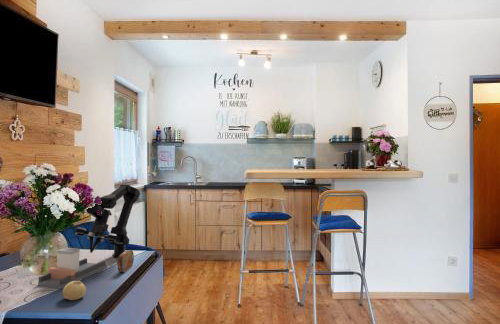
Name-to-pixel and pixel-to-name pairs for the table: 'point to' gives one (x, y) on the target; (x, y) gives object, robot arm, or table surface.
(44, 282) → the cable rail
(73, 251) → the pale grey box
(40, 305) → the table surface
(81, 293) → the onion
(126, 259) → the tin
